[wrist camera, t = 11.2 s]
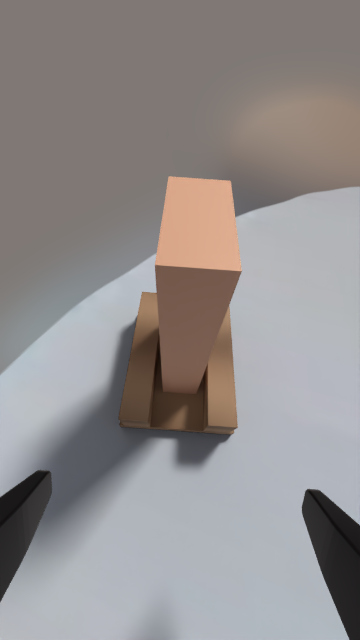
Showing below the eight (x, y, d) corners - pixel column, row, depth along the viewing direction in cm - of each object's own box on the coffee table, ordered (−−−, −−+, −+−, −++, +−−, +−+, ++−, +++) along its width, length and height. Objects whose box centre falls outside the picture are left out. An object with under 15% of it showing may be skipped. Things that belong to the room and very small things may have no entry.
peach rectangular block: (196, 394, 18) (241, 271, 7) (163, 391, 18) (154, 265, 7) (197, 336, 20) (230, 180, 9) (168, 334, 20) (168, 176, 9)
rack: (231, 434, 17) (243, 428, 14) (121, 426, 17) (112, 418, 14) (225, 319, 22) (232, 298, 20) (141, 313, 22) (137, 291, 20)
